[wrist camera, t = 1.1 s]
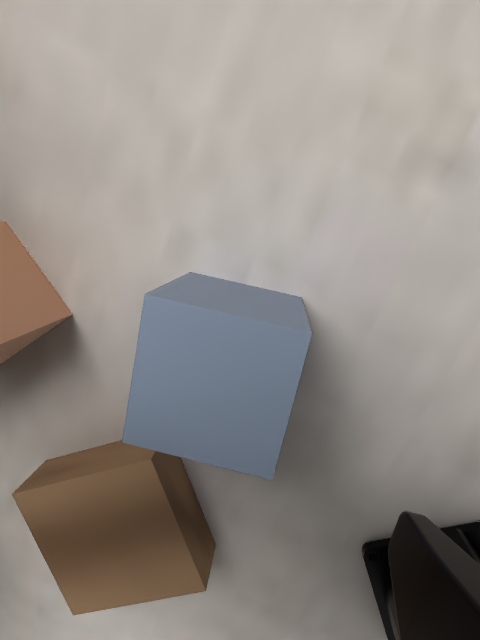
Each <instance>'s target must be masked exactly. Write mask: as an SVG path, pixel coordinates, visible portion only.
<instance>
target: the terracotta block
mask: <svg viewBox="0 0 480 640" xmlns="http://www.w3.org/2000/svg"><path fill="white" fill-rule="evenodd" d="M71 315H72V312H71V311H70V310H69V308H68V307H67V305H66V304H65V303H64V301H63V300H62V299H61V297H60V296H59V294H58V293H57V292H56V290H55V289H54V287H53V286H52V285H51V283H50V282H49V281H48V279H47V278H46V276H45V275H44V274H43V272H42V271H41V270H40V268H39V267H38V265H37V264H36V263H35V261H34V260H33V259H32V257H31V256H30V254H29V253H28V252H27V250H26V249H25V247H24V246H23V245H22V243H21V242H20V241H19V239H18V238H17V236H16V235H15V234H14V232H13V231H12V230H11V228H10V227H9V225H8V224H7V223H6V222H0V364H1V363H3V362H4V361H6V360H7V359H8V358H10V357H11V356H13V355H14V354H16V353H17V352H19V351H20V350H21V349H23V348H24V347H26V346H27V345H29V344H30V343H32V342H33V341H35V340H36V339H37V338H39V337H40V336H42V335H43V334H45V333H46V332H48V331H49V330H51V329H52V328H53V327H55V326H56V325H58V324H59V323H61V322H62V321H64V320H65V319H67V318H68V317H69V316H71Z"/></svg>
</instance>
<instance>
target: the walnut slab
mask: <svg viewBox="0 0 480 640" xmlns="http://www.w3.org/2000/svg"><path fill="white" fill-rule="evenodd" d="M12 495H13V497H14V499H15V501H16V503H17V505H18V507H19V509H20V511H21V513H22V515H23V517H24V519H25V521H26V523H27V525H28V527H29V529H30V531H31V533H32V535H33V537H34V539H35V541H36V543H37V545H38V547H39V549H40V551H41V553H42V555H43V557H44V559H45V561H46V563H47V565H48V566H49V568H50V570H51V572H52V574H53V576H54V578H55V580H56V582H57V584H58V586H59V588H60V590H61V592H62V594H63V596H64V598H65V600H66V602H67V604H68V606H69V608H70V610H71V612H72V614H73V615H77V614H83V613H88V612H94V611H99V610H105V609H110V608H116V607H121V606H126V605H132V604H137V603H143V602H148V601H154V600H159V599H165V598H170V597H176V596H181V595H186V594H192V593H197V592H203V591H206V588H207V583H208V579H209V574H210V569H211V564H212V559H213V555H214V550H215V542H214V540H213V537H212V535H211V532H210V530H209V527H208V525H207V522H206V520H205V517H204V515H203V512H202V510H201V507H200V505H199V502H198V500H197V497H196V495H195V492H194V490H193V487H192V485H191V483H190V480H189V478H188V475H187V473H186V470H185V468H184V465H183V463H182V460H181V458H180V457H178V456H174V455H170V454H166V453H162V452H158V451H154V450H150V449H146V448H142V447H138V446H134V445H130V444H127V443H123V442H122V440H121V441H118V442H114V443H110V444H106V445H103V446H99V447H95V448H91V449H87V450H84V451H80V452H76V453H72V454H69V455H65V456H61V457H57V458H54V459H50V460H46V461H45V462H44V463H43V464H42V465H41V466H40V467H39V468H38V469H37V470H36V471H35V472H34V473H33V474H32V475H31V476H30V477H29V478H28V479H27V480H26V481H25V482H24V483H23V484H22V485H21V486H20V487H19V488H18V489H17V490H16V491H15V492H14V493H13V494H12Z"/></svg>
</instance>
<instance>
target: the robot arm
mask: <svg viewBox="0 0 480 640" xmlns="http://www.w3.org/2000/svg"><path fill="white" fill-rule="evenodd" d="M372 552H376V553H375V554H370V553H372ZM362 554H363V558H364V561H365V565H366V568H367V571H368V575H369V578H370V581H371V585H372V588H373V591H374V595H375V598H376V601H377V604H378V608H379V611H380V614H381V618H382V621H383V624H384V628H385V631H386V634H387V638H388V640H480V522H475V523H469V524H464V525H458V526H453V527H447V528H442V529H439V528H438V527H437V526H435V525H434V524H433V523H432V522H431V521H430V520H429V519H428V518H426V517H425V516H423V515H420V514H416V513H412V512H408V511H405V512H402V513H401V515H400V516H399V519H398V521H397V524H396V527H395V529H394V532H393V535H392V537H391V538H387V539H382V540H376V541H371V542H367V543H365V544H364V545H363V547H362Z"/></svg>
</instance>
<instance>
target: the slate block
mask: <svg viewBox="0 0 480 640" xmlns="http://www.w3.org/2000/svg"><path fill="white" fill-rule="evenodd" d="M311 336H312V331H311V327H310V324H309V321H308V317H307V314H306V311H305V307H304V304H303V301H302V297H298V296H293V295H289V294H285V293H280V292H276V291H271V290H267V289H263V288H258V287H254V286H250V285H245V284H241V283H236V282H232V281H228V280H223V279H219V278H214V277H210V276H206V275H201V274H197V273H193V272H190V273H188V274H186V275H183V276H181V277H179V278H177V279H175V280H173V281H171V282H169V283H167V284H165V285H163V286H161V287H159V288H157V289H155V290H153V291H151V292H148V293H146V294H145V296H144V303H143V309H142V316H141V322H140V329H139V335H138V342H137V348H136V355H135V361H134V368H133V374H132V381H131V387H130V394H129V400H128V407H127V413H126V420H125V426H124V433H123V439H122V442H123V443H127V444H130V445H134V446H138V447H142V448H146V449H150V450H154V451H158V452H162V453H166V454H170V455H174V456H178V457H182V458H186V459H190V460H194V461H198V462H202V463H206V464H209V465H213V466H217V467H221V468H225V469H229V470H233V471H237V472H241V473H245V474H249V475H253V476H257V477H261V478H265V479H269V480H273V476H274V472H275V469H276V465H277V461H278V458H279V454H280V450H281V446H282V443H283V439H284V435H285V432H286V428H287V424H288V421H289V417H290V413H291V410H292V406H293V402H294V399H295V395H296V391H297V387H298V384H299V380H300V376H301V373H302V369H303V365H304V362H305V358H306V354H307V351H308V347H309V343H310V340H311Z"/></svg>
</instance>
